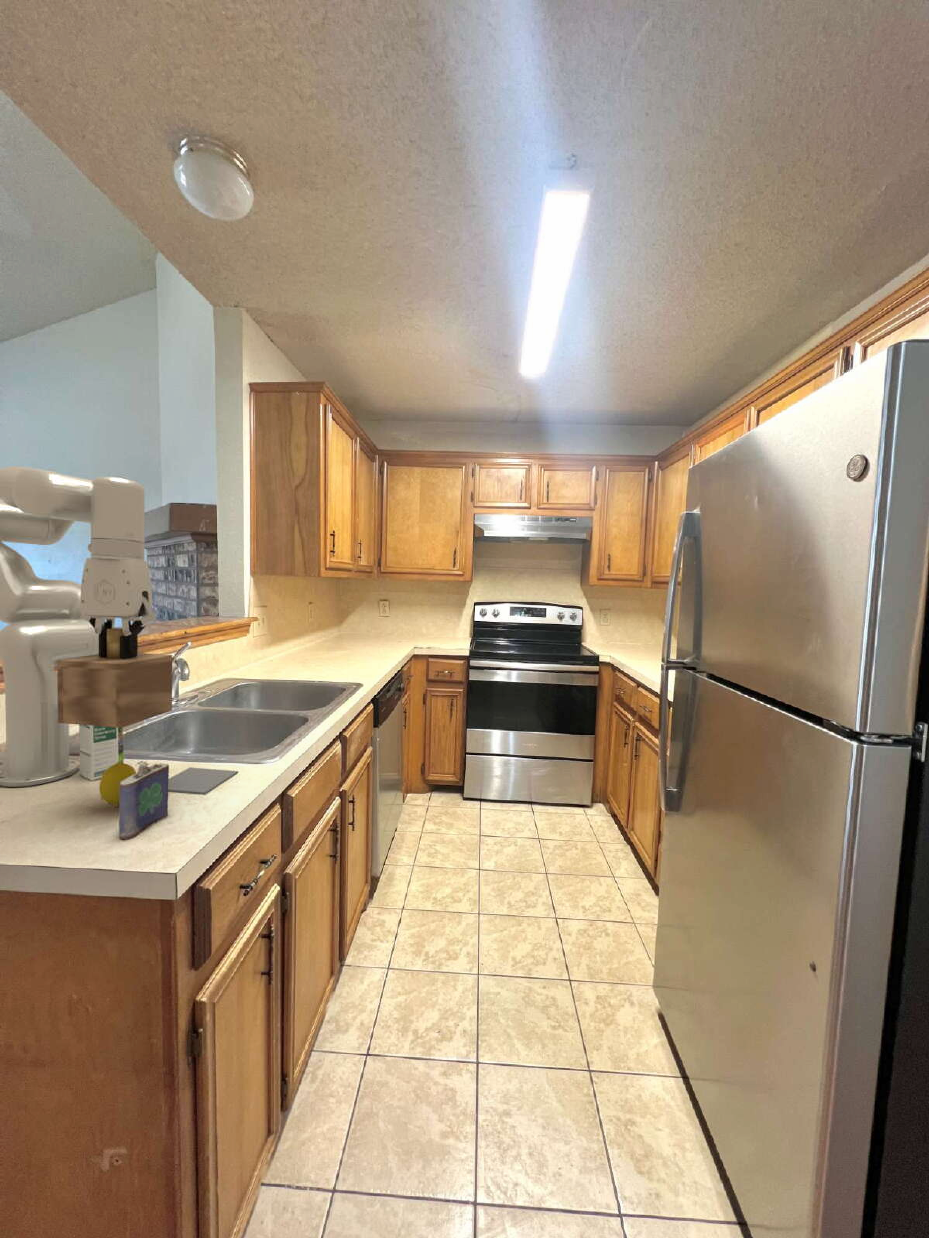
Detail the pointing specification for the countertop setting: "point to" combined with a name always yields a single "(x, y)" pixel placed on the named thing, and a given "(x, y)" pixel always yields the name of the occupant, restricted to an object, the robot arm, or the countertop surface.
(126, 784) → the flask
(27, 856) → the countertop surface
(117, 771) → the lemon
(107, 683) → the brown block with knob
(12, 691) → the robot arm
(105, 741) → the syrup box
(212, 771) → the mat
